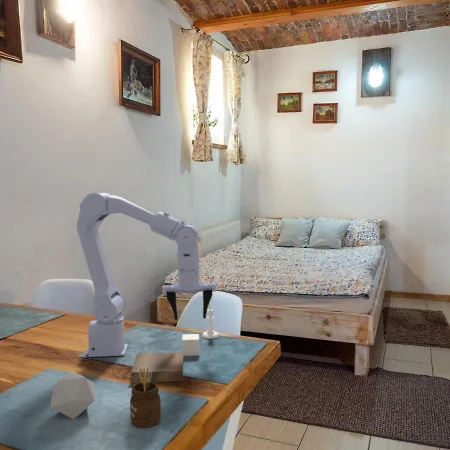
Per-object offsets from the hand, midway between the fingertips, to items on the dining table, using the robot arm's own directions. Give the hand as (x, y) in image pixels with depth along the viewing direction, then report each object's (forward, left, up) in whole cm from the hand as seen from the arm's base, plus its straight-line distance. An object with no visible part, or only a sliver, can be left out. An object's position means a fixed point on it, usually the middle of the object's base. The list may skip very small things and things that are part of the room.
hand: (190, 318), depth 126 cm
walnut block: (-8, -12, -10) cm, 18 cm away
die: (-24, -31, -10) cm, 40 cm away
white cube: (0, 0, -10) cm, 10 cm away
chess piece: (+6, +13, -10) cm, 17 cm away
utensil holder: (-9, -36, -10) cm, 38 cm away
